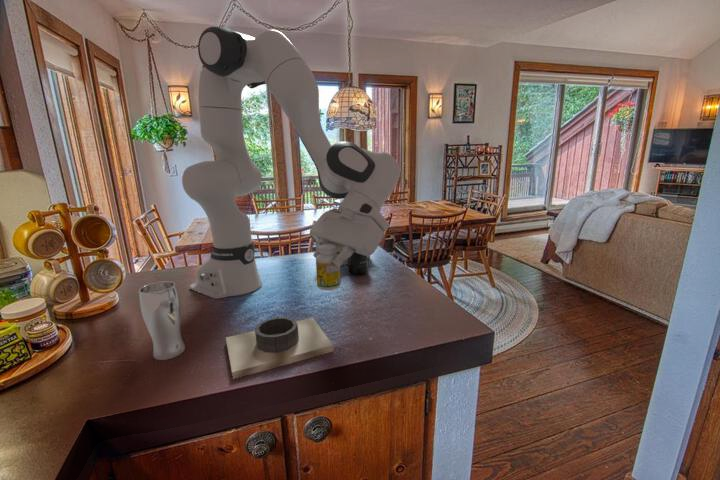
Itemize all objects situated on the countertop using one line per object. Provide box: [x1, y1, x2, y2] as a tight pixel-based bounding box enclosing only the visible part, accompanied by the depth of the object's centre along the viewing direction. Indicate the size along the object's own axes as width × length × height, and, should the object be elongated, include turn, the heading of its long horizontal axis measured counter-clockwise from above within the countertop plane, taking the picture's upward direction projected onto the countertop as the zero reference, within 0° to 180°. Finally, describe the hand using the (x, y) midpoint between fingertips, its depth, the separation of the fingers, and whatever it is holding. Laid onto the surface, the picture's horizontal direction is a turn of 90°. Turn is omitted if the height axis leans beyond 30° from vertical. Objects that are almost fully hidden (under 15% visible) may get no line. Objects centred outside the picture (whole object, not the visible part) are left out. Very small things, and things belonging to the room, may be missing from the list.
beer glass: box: [138, 280, 186, 361], centre depth 72 cm, size 7×7×15 cm
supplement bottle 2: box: [347, 252, 368, 276], centre depth 118 cm, size 7×7×12 cm
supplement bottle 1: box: [315, 244, 341, 291], centre depth 79 cm, size 5×5×10 cm
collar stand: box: [225, 316, 334, 380], centre depth 74 cm, size 20×14×5 cm
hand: (325, 261), depth 78 cm, fingers closed on supplement bottle 1, 5 cm apart
